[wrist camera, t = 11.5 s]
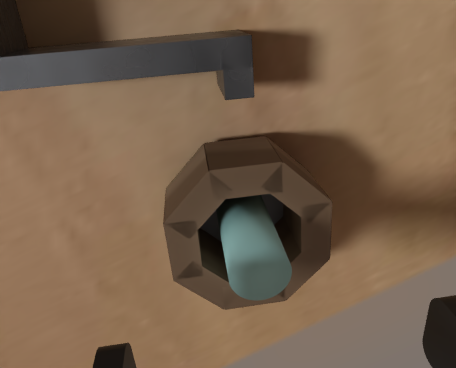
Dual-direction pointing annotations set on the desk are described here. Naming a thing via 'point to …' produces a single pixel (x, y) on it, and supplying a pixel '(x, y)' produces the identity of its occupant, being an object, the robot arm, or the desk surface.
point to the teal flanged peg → (251, 245)
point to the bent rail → (124, 58)
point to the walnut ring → (234, 188)
